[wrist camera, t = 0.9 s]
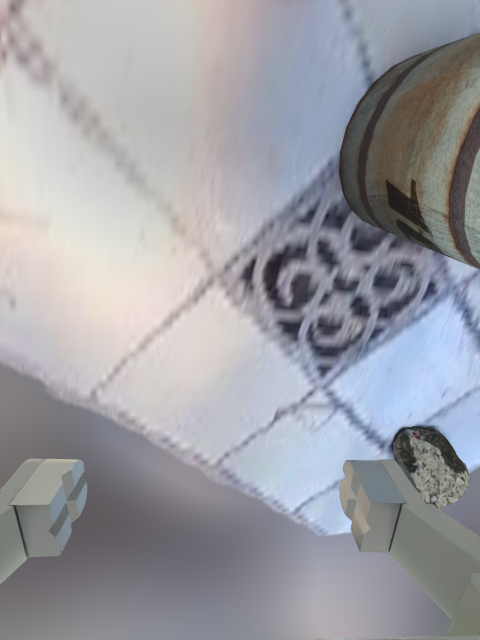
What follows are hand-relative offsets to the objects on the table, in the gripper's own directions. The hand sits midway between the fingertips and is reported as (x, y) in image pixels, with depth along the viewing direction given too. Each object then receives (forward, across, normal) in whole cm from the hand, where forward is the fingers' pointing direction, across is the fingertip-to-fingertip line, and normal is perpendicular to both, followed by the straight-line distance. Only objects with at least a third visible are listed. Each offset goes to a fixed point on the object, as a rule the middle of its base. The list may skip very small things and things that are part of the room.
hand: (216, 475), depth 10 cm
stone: (+61, -53, +51) cm, 96 cm away
